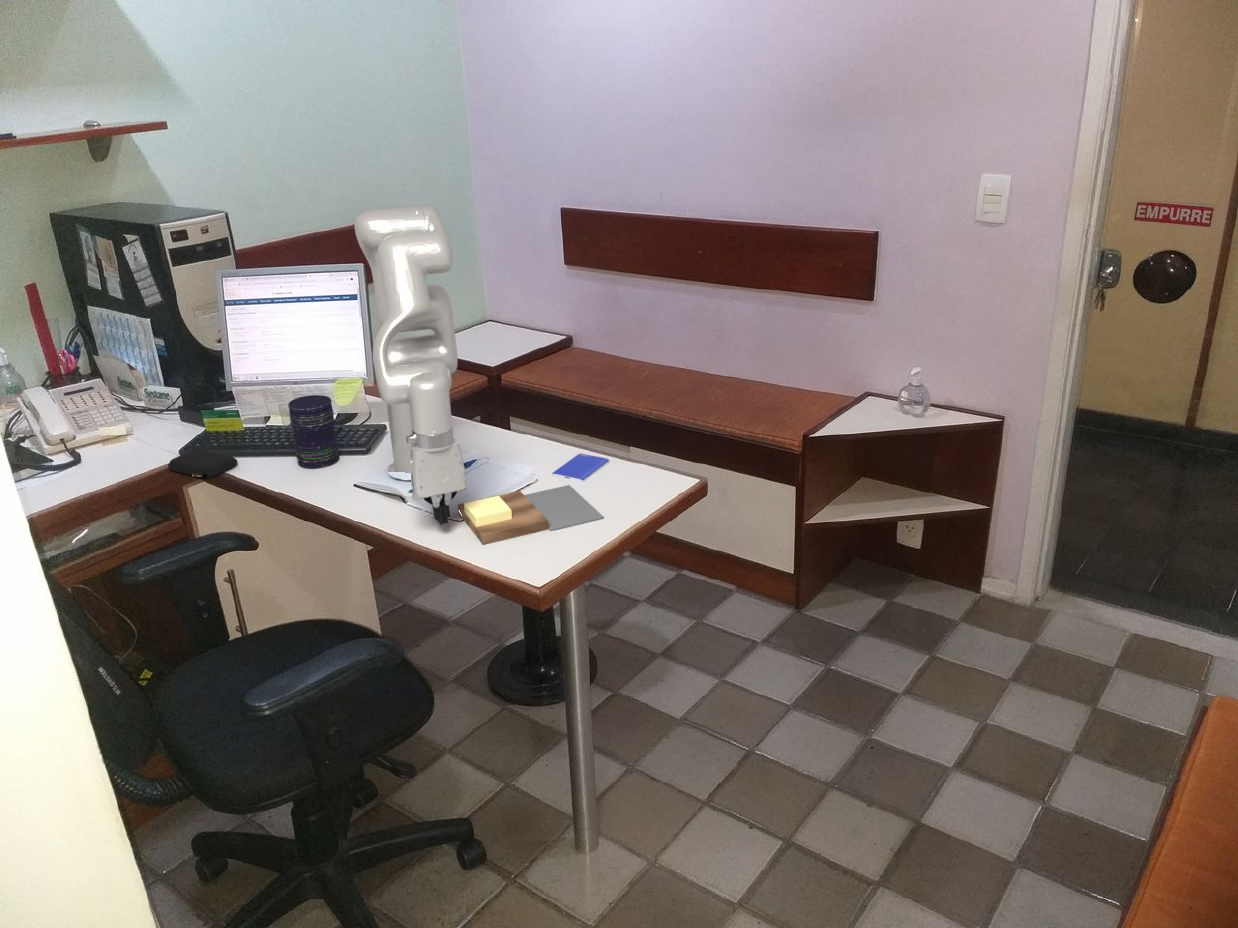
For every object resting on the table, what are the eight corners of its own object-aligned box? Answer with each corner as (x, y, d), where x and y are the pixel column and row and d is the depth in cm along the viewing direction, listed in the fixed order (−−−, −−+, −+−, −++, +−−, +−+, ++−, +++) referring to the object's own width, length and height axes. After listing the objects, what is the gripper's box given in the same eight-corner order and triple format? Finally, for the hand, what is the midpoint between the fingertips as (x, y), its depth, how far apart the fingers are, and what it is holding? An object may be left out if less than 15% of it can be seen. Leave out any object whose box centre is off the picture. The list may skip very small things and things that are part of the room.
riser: (458, 512, 204) (457, 504, 203) (520, 499, 210) (519, 490, 209) (483, 544, 191) (482, 535, 190) (548, 529, 197) (548, 520, 196)
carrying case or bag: (161, 474, 227) (207, 484, 221) (158, 462, 226) (205, 472, 220) (197, 457, 236) (242, 466, 230) (194, 445, 235) (240, 455, 229)
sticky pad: (464, 512, 200) (463, 503, 199) (499, 504, 203) (498, 495, 202) (476, 526, 194) (475, 518, 193) (512, 518, 197) (511, 509, 196)
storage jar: (335, 468, 227) (326, 408, 221) (293, 470, 227) (282, 410, 221) (343, 451, 236) (335, 394, 230) (303, 453, 236) (293, 395, 230)
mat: (518, 497, 211) (518, 496, 211) (569, 486, 215) (569, 484, 215) (550, 531, 196) (550, 529, 196) (604, 518, 201) (604, 517, 200)
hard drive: (578, 452, 230) (551, 472, 220) (609, 458, 227) (582, 478, 217) (579, 458, 231) (551, 478, 221) (609, 464, 227) (582, 485, 217)
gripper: (400, 451, 181) (410, 537, 188) (476, 436, 187) (484, 521, 194) (390, 437, 187) (401, 522, 194) (464, 424, 193) (472, 506, 200)
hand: (442, 521), depth 194 cm, fingers closed
